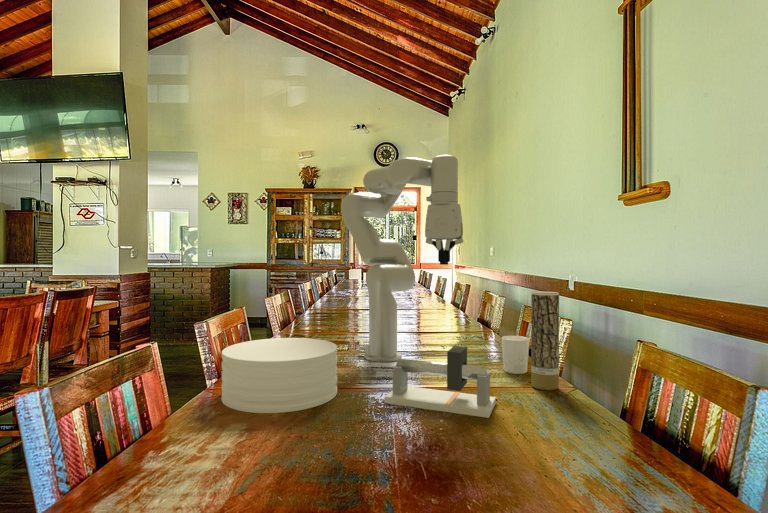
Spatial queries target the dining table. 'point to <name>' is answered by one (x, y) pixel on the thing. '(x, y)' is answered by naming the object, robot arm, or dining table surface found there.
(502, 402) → the dining table surface
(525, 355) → the white cup
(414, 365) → the pipe
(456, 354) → the collar
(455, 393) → the orange strap
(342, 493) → the dining table surface
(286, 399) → the plate stack
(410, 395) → the pipe stand
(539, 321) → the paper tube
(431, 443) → the dining table surface
